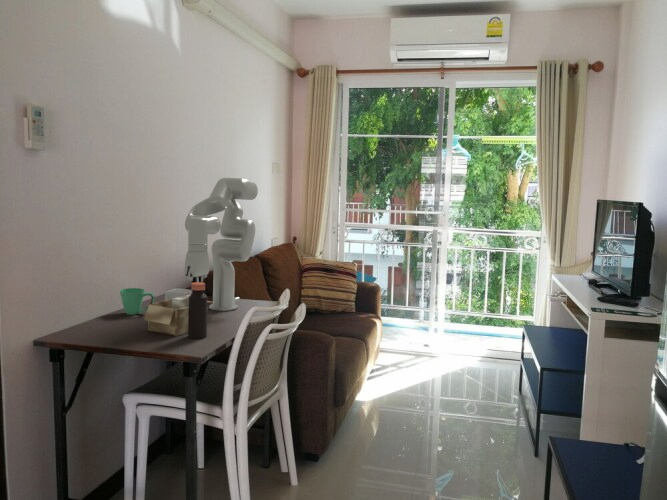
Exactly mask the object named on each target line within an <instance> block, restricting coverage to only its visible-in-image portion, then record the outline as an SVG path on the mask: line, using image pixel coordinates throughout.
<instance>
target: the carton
mask: <svg viewBox="0 0 667 500" xmlns="http://www.w3.org/2000/svg"><path fill="white" fill-rule="evenodd" d="M190 295H191V294H190ZM190 295H186V296H181V297H177V298H172V299H170V300H166V301H165V300H162V301H159V302H158V301H157V302H154V303H153V304H150V303H149V304H150V305H155V306H161V307H166V308H172V309H175V310H174V313H173V316H172V319H171V322H170V325H167V324H162V323H157V322H152V321H147V331H149V332H154V333H158V334H163V335H166V336H167V335H168V336H173V337H179V336H181V335H185V334H188V310H189V296H190ZM149 304H148V305H147V306H149Z"/></svg>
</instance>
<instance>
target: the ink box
mask: <svg viewBox="0 0 667 500" xmlns="http://www.w3.org/2000/svg"><path fill="white" fill-rule="evenodd" d="M190 294H192V289H187V288H178V287H177V288H172V289H168V290H166V291H164V301H166V300H170V299H172V298H177V297H181V296H186V295H190Z"/></svg>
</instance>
